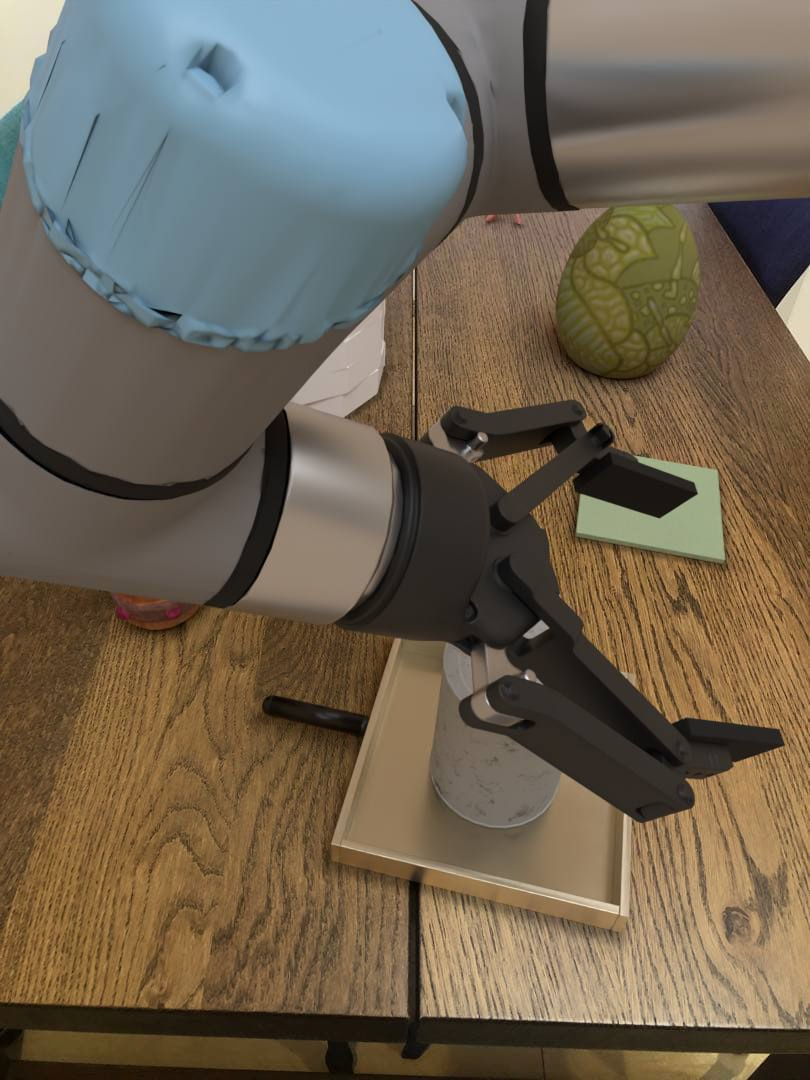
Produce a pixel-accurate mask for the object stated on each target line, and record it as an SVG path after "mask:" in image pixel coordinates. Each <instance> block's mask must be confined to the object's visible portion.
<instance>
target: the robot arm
mask: <svg viewBox="0 0 810 1080" xmlns="http://www.w3.org/2000/svg"><path fill="white" fill-rule="evenodd" d="M21 101H22V102H21V104H22V112H21V115H20V116H21V117H20V125H19V136H18V140H17V145H16V148H15V152H14V155H13V160H12V164H11V168H10V171H9V176H8V178H7V179H8V180H7V183H6V188H5V192H4V195H3V200H2V203H1V207H0V577H7V578H13V579H20V580H27V581H34V582H41V583H47V584H55V585H61V586H68V587H76V588H82V589H89V590H96V591H102V592H109V593H110V592H115V593H122V594H129V595H136V596H142V597H149V598H156V599H163V600H170V601H176V602H183V603H190V604H197V605H200V607H201V606H204V607H209V608H216V609H221V610H224V611H230V612H231V611H232V612H237V613H244V614H249V615H255V616H262V617H267V618H274V619H279V620H280V619H281V620H285V621H292V622H298V623H299V622H300V623H305V624H311V625H317V626H324V625H331V624H334V625H335V626H336V627H338V628H340V629H342V630H345V631H348V632H349V631H350V632H355V633H362V634H368V635H375V636H382V637H388V638H393V639H394V638H399V639H405V640H412V641H443V642H447V643H449V644H452V645H453V646H455V647H457V648H458V649H460V650H461V651H462V652H464V653H465V654H466V655H468V656H470V657H471V667H472V682H473V694H471V695H469V696H467V697H466V698H464V699H462V700H461V702H460V703H459V709H458V710H459V714H460V717H461V719H462V721H463V722H464V723H465V724H466V725H467V726H469V727H471V728H475V729H479V730H483V731H488V732H492V733H496V734H500V735H505V736H508V737H509V738H511V739H512V740H514V741H515V742H517V743H518V744H520V745H522V746H523V747H525V748H526V749H528V750H529V751H531V752H532V753H534V754H535V755H537V756H538V757H540V758H541V759H543V760H544V761H546V762H547V763H549V764H550V765H552V766H553V767H555V768H556V769H558V770H559V771H561V772H562V773H564V774H565V775H567V776H569V777H570V778H572V779H573V780H575V781H576V782H578V783H579V784H581V785H582V786H584V787H585V788H587V789H588V790H590V791H591V792H593V793H594V794H596V795H597V796H599V797H600V798H602V799H603V800H605V801H606V802H608V803H609V804H611V805H612V806H614V807H616V808H617V809H619V810H620V811H622V812H623V813H625V814H626V815H628V816H629V817H631V818H632V820H634V821H635V822H637V823H639V824H645V823H648V822H651V821H655V820H658V819H661V818H665V817H668V816H671V815H674V814H677V813H680V812H684V811H688V810H690V809H692V808H694V806H695V805H696V795H695V792H694V788H693V787H692V785H691V784H690V783H689V782H688V780H699V781H701V780H706V779H709V778H711V777H713V776H717V775H721V774H722V773H726V772H729V771H730V770H732V769H733V768H734V767H735V766H734V763H738V762H741V761H744V760H746V759H749V758H753V757H755V756H759V755H762V754H763V753H767V752H771V751H773V750H777V749H779V748H782V747H785V746H786V744H785V741H784V737H783V735H782V732H781V729H779V728H773V727H765V726H759V725H758V726H757V725H750V724H742V723H734V722H727V721H718V720H711V719H704V718H694V717H688V716H687V717H684V718H682V719H679V720H676V721H674V722H670V721H669V720H668V718H666V716H664V715H663V714H662V713H661V712H660V711H659V709H658V708H657V707H656V706H654V705H653V703H651V702H650V701H649V700H648V699H647V697H646V696H645V695H644V694H642V692H641V691H640V690H639V689H638V688H637V687H636V686H634V685H633V684H632V683H631V682H630V681H629V680H628V679H627V678H626V677H625V676H624V675H623V674H622V673H621V672H620V671H621V670H619V669H618V668H617V667H616V666H615V665H614V664H613V663H612V662H611V661H610V660H609V659H608V658H607V657H606V656H605V655H604V654H603V653H602V652H601V650H600V649H599V648H597V647H596V646H595V644H594V643H592V641H590V640H589V639H588V637H586V635H585V634H584V633H583V628H584V627H585V624H584V621H583V619H582V618H581V616H579V615H578V614H577V612H575V611H574V610H573V609H572V608H571V607H570V605H569V604H568V603H567V602H565V600H564V599H563V598H561V596H560V595H561V589H560V586H559V581H558V576H557V575H556V572H555V570H554V568H553V565H552V563H551V561H550V542H549V538H548V533H547V529H545V528H541V527H540V525H539V523H538V521H537V519H535V517H534V516H533V515H532V513H531V512H532V511H534V510H535V509H536V508H537V507H538V506H539V505H540V504H542V503H543V502H544V501H546V500H547V499H548V498H549V497H550V496H551V495H553V493H554V492H555V491H556V490H557V489H559V488H560V487H562V486H563V484H565V483H566V482H567V481H569V480H570V478H572V477H573V476H575V474H578V475H577V476H576V477H574V478H573V479H572V485H573V489H574V492H575V493H576V494H579V495H580V494H583V495H586V496H589V497H592V498H596V499H599V500H602V501H605V502H608V503H611V504H615V505H618V506H621V507H624V508H627V509H630V510H634V511H637V512H640V513H643V514H646V515H649V516H653V517H656V518H659V519H660V518H661V517H663V516H665V515H666V514H668V513H669V512H671V511H672V510H674V509H675V508H677V507H679V506H680V505H682V504H683V503H685V502H686V501H688V500H690V499H691V498H693V497H694V496H696V495H697V494H698V492H697V489H696V486H695V483H694V482H692V481H689V480H686V479H684V478H681V477H678V476H675V475H673V474H670V473H667V472H664V471H662V470H659V469H656V468H653V467H651V466H648V465H645V464H642V463H640V462H638V459H637V458H636V457H634V456H635V455H634V456H633V454H632V453H630V452H628V451H625V450H622V449H619V448H616V447H615V446H611V445H612V444H613V443H614V442H615V441H616V436H615V433H614V431H613V429H612V428H611V427H610V426H609V425H608V424H606V423H605V422H597V423H596V424H595V425H594V426H593V427H591V428H590V429H589V430H587V429H586V427H585V425H584V423H583V421H584V420H586V418H587V416H588V414H587V410H586V408H585V407H584V405H583V404H582V403H581V402H580V401H578V400H576V399H573V398H572V399H571V398H570V399H565V400H560V401H553V402H547V403H542V404H541V403H540V404H534V405H529V406H528V405H527V406H523V407H516V408H511V409H504V410H497V411H491V412H485V411H480V410H477V409H473V408H468V407H464V406H461V405H453V406H451V407H450V408H449V409H448V410H447V411H446V412H445V413H444V414H443V415H441V416H440V418H439V419H438V420H437V421H436V422H435V423H434V424H433V425H432V426H431V427H430V428H429V429H428V430H426V432H425V433H423V435H422V436H421V437H420V438H419V440H416V439H412V438H409V437H405V436H402V435H400V434H397V433H393V432H381V433H379V432H378V430H376V428H375V427H374V426H371V425H368V424H365V423H362V422H358V421H355V420H352V419H349V418H345V417H344V418H342V417H339V416H336V415H333V414H329V413H326V412H323V411H320V410H316V409H313V408H310V407H307V406H303V405H300V404H297V403H294V402H290V400H291V399H292V398H293V397H294V396H295V395H296V394H297V392H298V391H299V390H300V389H301V388H302V387H303V386H304V384H305V383H306V382H307V381H308V380H309V378H310V377H311V376H312V375H313V374H314V373H315V372H316V371H317V369H318V368H319V367H320V366H321V365H322V364H323V363H324V361H325V360H326V359H327V358H328V357H329V356H330V355H331V354H332V353H333V352H334V350H335V349H336V348H337V347H338V346H339V345H340V344H341V343H342V342H343V341H344V340H345V339H346V337H347V336H348V335H349V334H350V333H351V332H352V331H353V330H354V329H355V328H356V327H357V326H358V325H359V324H360V323H361V322H362V321H363V320H364V319H365V318H366V317H367V316H368V315H369V314H370V313H371V312H372V311H373V310H374V309H375V308H376V307H377V306H378V305H379V304H380V303H381V302H382V301H383V300H384V299H385V298H386V299H387V298H388V297H389V296H390V295H391V294H392V293H393V292H394V291H395V290H396V289H397V288H398V287H399V285H400V284H402V282H404V280H405V279H407V277H408V276H409V275H410V274H411V273H412V272H413V271H414V270H415V269H417V267H418V266H419V265H420V264H421V263H422V262H423V261H424V260H425V259H426V258H427V257H428V256H429V255H430V254H431V253H432V252H433V251H434V250H435V249H436V248H438V247H439V246H440V245H441V244H442V243H443V242H444V241H445V240H446V239H447V238H448V237H449V236H450V235H451V234H452V233H453V232H454V231H455V230H456V229H457V228H458V227H459V226H460V225H461V224H462V223H463V222H465V220H468V219H470V218H474V217H482V216H488V215H496V216H500V215H515V214H518V215H520V214H522V215H523V214H540V213H541V214H542V213H544V214H545V213H559V212H560V213H561V212H574V211H575V212H576V211H580V210H585V209H586V210H587V209H605V208H607V209H609V208H610V207H630V206H650V205H670V204H673V205H687V204H690V205H691V204H710V203H725V202H726V203H727V202H731V203H732V202H749V201H768V200H769V201H770V200H788V199H790V200H791V199H810V0H64V3H63V6H62V9H61V10H60V14H59V16H58V19H57V22H56V24H55V25H54V26H53V27H52V28H51V30H50V31H49V34H48V40H47V45H46V51H45V52H44V53H43V54H41V55H39V56H37V57H36V58H34V62H33V66H32V70H31V73H30V77H29V89H28V90H27V92H26V93H25V95H24V97H23V99H22V100H21ZM551 446H552V447H553V449H554V450H555V452H556V455H555V456H554V457H553V458H551V459H550V460H548V462H546V463H545V464H544V465H542V466H541V467H540V468H538V469H537V470H536V471H533V473H531V474H530V475H529V476H528V477H526V478H525V479H524V480H522V481H521V482H519V484H517V485H516V486H514V487H513V488H512V489H511V490H510V491H507V490H506V489H505V488H504V487H502V485H500V484H499V483H498V482H497V481H496V480H495V478H493V477H492V476H491V475H489V473H487V471H485V469H483V468H482V467H481V466H479V465H477V464H475V463H479V462H485V461H488V460H493V459H497V458H501V457H502V458H503V457H507V456H511V455H515V454H519V453H525V452H528V451H534V450H537V449H543V448H547V447H551ZM541 620H542V621H543V622H544V623H545V624H546V625H547V626H548V627H549V629H547V630H545V631H544V632H542V633H540V634H539V635H537V636H535V637H534V638H531V639H529V638H525V637H524V636H523V635H524V634H525V633H527V632H528V631H529V630H530V629H531V628H533V627H534V626H535V625H536V624H537V623H538V622H540V621H541ZM537 679H538V680H539V681H540V682H541V683H542V684H543V685H542V684H540V683H537V682H536V680H537ZM686 779H688V780H686Z"/></svg>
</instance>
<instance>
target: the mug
mask: <svg viewBox="0 0 810 1080" xmlns="http://www.w3.org/2000/svg"><path fill="white" fill-rule="evenodd" d="M109 594H110V597H111V599H112V601H113V604H114V605H115V607H116V608H115V616H116V618H117V619H120V620H122V621H126V622H128V623H129V624H130V625H134V626H136V627H138V628H142V629H145V630H149V631H156V630H157V631H160V630H166V629H169V628H174V627H177V626H178V625H180V624H181V623H183V622H185V621H187V620H188V619H190V618H191V617H193V616H194V614H195V613H196V612H197V611H198V610H200V607H201V606H200V605H197V604H190V603H183V602H176V601H170V600H163V599H156V598H149V597H142V596H136V595H129V594H122V593H115V592H109Z"/></svg>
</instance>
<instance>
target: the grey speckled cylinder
mask: <svg viewBox="0 0 810 1080" xmlns="http://www.w3.org/2000/svg"><path fill="white" fill-rule="evenodd" d="M547 629H549V627H548V626H547V625H546V624H545V623H544V622H543V621H542V620H541V621H540V622H538V623H537V624H536V625H535V626H534V627H533V628H531V629H530V630H529V631H528V632H527V633H525V634H524V635H523V636H524V637H525V638H529V639H531V638H534V637H535V636H537V635H539V634H540V633H542V632H544V631H545V630H547ZM536 682H537V683H540V684H542V683H541V682H540V681H539V680H538V679H537V680H536ZM542 685H543V684H542ZM471 694H473V682H472V667H471V657H470V656H468V655H466V654H465V653H464V652H462V651H461V650H460V649H458V648H457V647H455V646H453V645H452V644H449V643H446V646H445V650H444V653H443V671H442V678H441V686H440V693H439V701H438V708H437V716H436V723H435V731H434V738H433V746H432V750H431V754H430V774H431V778H432V782H433V785H434V787H435V789H436V791H437V793H438V795H439V796H440V798H441V799H442V800H443V801H444V802H445V804H446V805H447V806H448V807H449V808H450V809H451V810H452V811H454V812H455V813H456V814H458V815H459V816H460V817H462V818H464V819H466V820H468V821H470V822H472V823H474V824H477V825H480V826H484V827H488V828H500V829H506V828H512V827H518V826H522V825H524V824H526V823H529V822H531V821H533V820H535V819H536V818H537V817H539V816H540V815H541V814H543V813H544V812H545V811H546V809H547V808H548V807H549V806H550V804H551V803H552V802H553V799H554V797H555V795H556V792H557V790H558V784H559V780H560V777H561V774H562V772H561V771H559V770H558V769H556V768H555V767H553V766H552V765H550V764H549V763H547V762H546V761H544V760H543V759H541V758H540V757H538V756H537V755H535V754H534V753H532V752H531V751H529V750H528V749H526V748H525V747H523V746H522V745H520V744H518V743H517V742H515V741H514V740H512V739H511V738H509V737H508V736H505V735H500V734H496V733H492V732H488V731H483V730H479V729H475V728H471V727H469V726H467V725H466V724H465V723H464V722H463V721H462V719H461V717H460V714H459V710H458V709H459V703H460V702H461V700H462V699H464V698H466V697H467V696H469V695H471Z"/></svg>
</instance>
